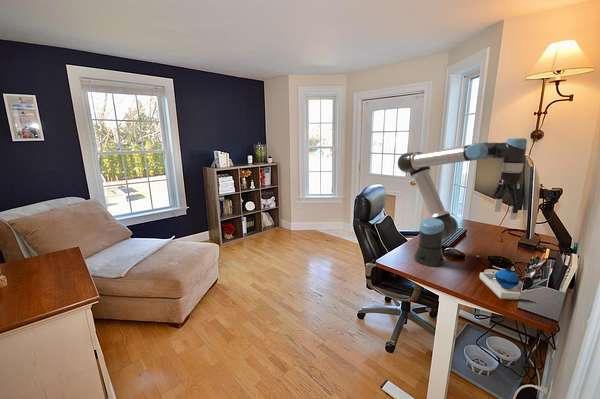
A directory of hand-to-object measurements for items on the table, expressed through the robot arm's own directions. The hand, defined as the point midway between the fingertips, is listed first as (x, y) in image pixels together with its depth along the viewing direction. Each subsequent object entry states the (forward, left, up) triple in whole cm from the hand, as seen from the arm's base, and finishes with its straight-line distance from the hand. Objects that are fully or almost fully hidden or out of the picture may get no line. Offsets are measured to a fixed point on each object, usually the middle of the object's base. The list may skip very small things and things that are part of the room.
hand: (504, 215), depth 128 cm
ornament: (-4, -16, -30) cm, 34 cm away
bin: (-4, -16, -30) cm, 34 cm away
